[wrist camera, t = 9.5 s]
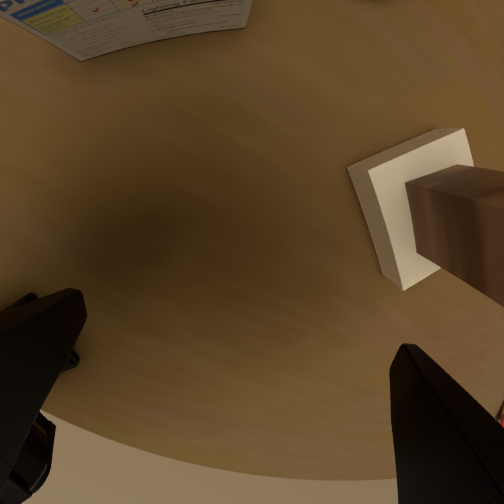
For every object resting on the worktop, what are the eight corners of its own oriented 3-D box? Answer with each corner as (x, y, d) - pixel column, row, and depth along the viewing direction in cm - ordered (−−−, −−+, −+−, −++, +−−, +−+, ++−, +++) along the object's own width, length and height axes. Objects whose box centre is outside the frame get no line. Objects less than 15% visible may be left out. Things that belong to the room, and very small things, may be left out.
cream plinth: (382, 273, 21) (403, 290, 19) (346, 166, 19) (367, 170, 16) (461, 227, 21) (486, 237, 18) (436, 128, 19) (463, 128, 16)
